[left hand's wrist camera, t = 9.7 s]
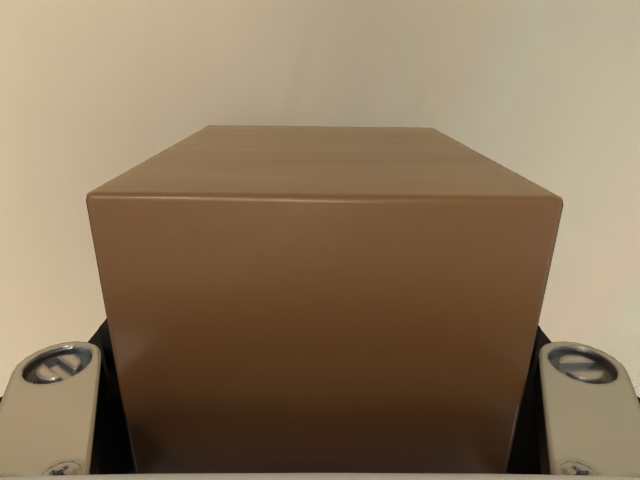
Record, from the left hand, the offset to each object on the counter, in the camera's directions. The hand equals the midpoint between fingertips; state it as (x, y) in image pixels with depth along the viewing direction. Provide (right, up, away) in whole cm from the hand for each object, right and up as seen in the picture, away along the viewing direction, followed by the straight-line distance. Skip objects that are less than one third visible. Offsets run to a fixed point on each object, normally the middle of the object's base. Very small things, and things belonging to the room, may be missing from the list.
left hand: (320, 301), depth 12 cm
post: (0, -32, +14) cm, 35 cm away
